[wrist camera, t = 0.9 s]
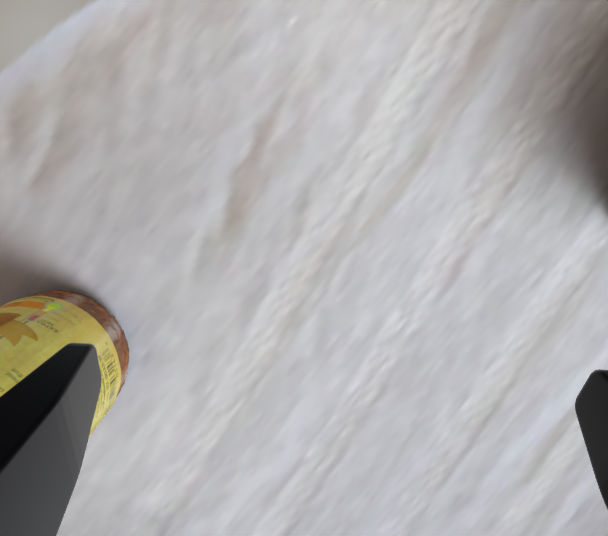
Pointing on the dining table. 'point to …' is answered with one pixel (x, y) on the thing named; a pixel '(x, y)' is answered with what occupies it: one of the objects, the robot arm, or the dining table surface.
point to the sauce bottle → (61, 340)
